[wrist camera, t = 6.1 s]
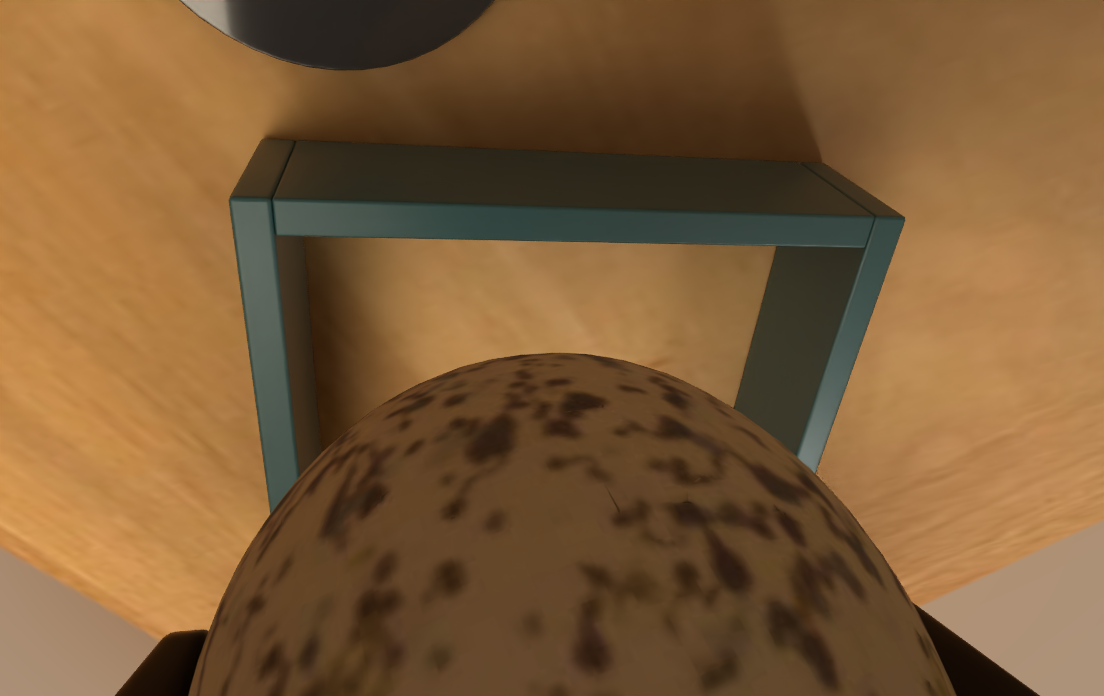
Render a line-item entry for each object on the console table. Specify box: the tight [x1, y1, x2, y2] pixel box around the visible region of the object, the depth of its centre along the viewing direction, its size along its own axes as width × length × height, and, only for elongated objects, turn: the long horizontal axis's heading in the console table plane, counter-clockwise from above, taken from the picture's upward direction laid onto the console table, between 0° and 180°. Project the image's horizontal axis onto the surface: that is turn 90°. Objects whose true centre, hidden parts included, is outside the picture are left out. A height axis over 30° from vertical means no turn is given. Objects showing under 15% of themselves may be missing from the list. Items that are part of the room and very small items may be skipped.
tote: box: [229, 139, 905, 514], centre depth 21 cm, size 15×15×4 cm
